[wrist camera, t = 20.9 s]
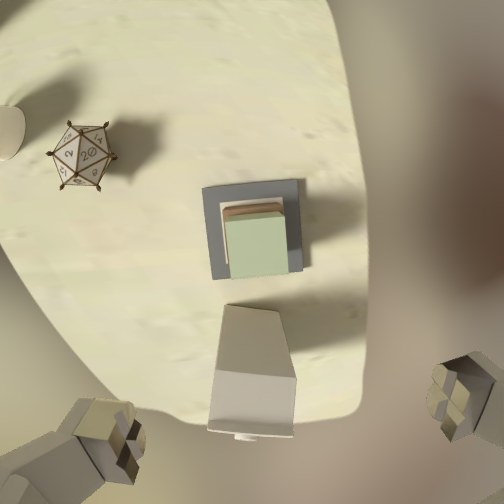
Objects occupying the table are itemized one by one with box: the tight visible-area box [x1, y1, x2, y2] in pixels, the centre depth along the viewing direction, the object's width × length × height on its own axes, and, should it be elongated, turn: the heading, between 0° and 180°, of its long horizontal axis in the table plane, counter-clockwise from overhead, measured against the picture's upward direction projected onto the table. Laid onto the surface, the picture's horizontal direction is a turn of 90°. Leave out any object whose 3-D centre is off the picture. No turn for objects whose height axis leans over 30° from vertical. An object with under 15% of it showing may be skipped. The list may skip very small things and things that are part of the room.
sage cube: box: [225, 211, 289, 279], centre depth 29 cm, size 5×5×5 cm
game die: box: [46, 120, 117, 191], centre depth 31 cm, size 9×8×10 cm
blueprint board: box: [202, 180, 303, 280], centre depth 37 cm, size 11×11×1 cm
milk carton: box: [207, 305, 297, 441], centre depth 31 cm, size 7×7×19 cm
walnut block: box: [222, 202, 283, 269], centre depth 34 cm, size 6×6×5 cm
